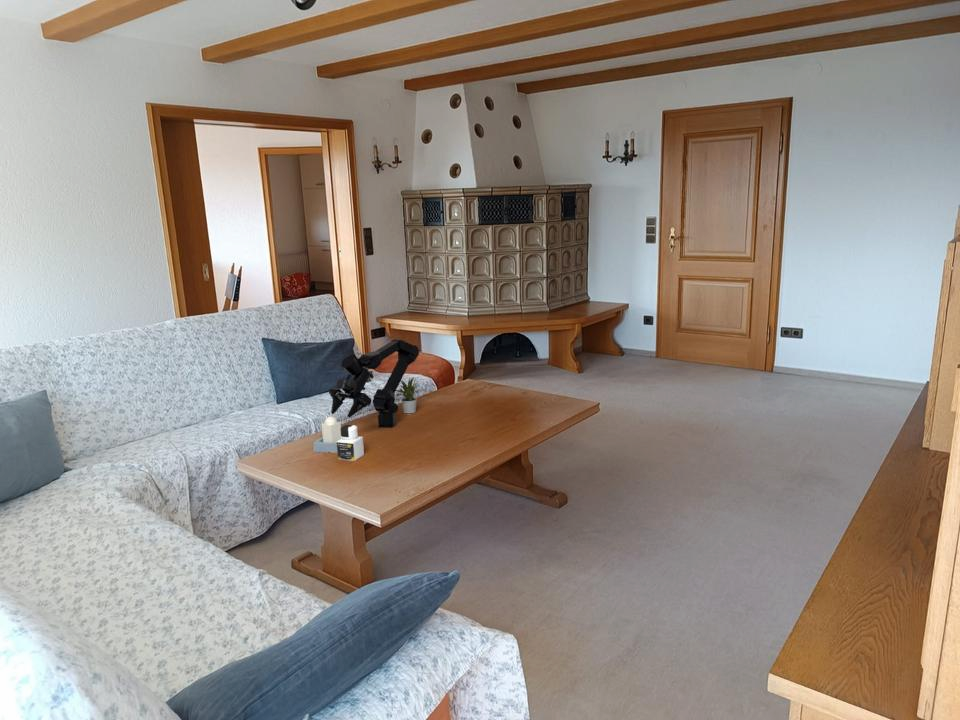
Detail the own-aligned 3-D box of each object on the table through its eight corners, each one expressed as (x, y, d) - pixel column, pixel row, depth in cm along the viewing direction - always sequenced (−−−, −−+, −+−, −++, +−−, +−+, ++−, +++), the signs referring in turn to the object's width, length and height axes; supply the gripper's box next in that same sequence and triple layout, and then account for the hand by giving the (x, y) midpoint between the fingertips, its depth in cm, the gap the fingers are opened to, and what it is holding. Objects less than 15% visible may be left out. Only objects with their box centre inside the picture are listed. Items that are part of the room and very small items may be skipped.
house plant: (398, 407, 307) (396, 373, 304) (427, 407, 305) (425, 372, 302) (390, 416, 293) (387, 380, 290) (420, 416, 291) (418, 380, 288)
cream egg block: (333, 444, 259) (330, 414, 256) (342, 446, 256) (339, 415, 253) (323, 448, 255) (320, 417, 252) (332, 450, 252) (329, 419, 249)
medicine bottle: (337, 459, 242) (334, 428, 240) (347, 453, 249) (345, 422, 246) (354, 461, 240) (352, 429, 237) (364, 454, 246) (362, 423, 244)
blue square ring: (352, 443, 259) (351, 434, 259) (340, 453, 249) (339, 444, 248) (326, 442, 262) (325, 433, 261) (313, 451, 252) (312, 443, 251)
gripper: (330, 368, 263) (311, 401, 257) (364, 373, 252) (345, 408, 246) (346, 383, 271) (328, 415, 264) (379, 388, 260) (361, 422, 254)
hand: (340, 415), depth 257 cm, fingers open, 9 cm apart
